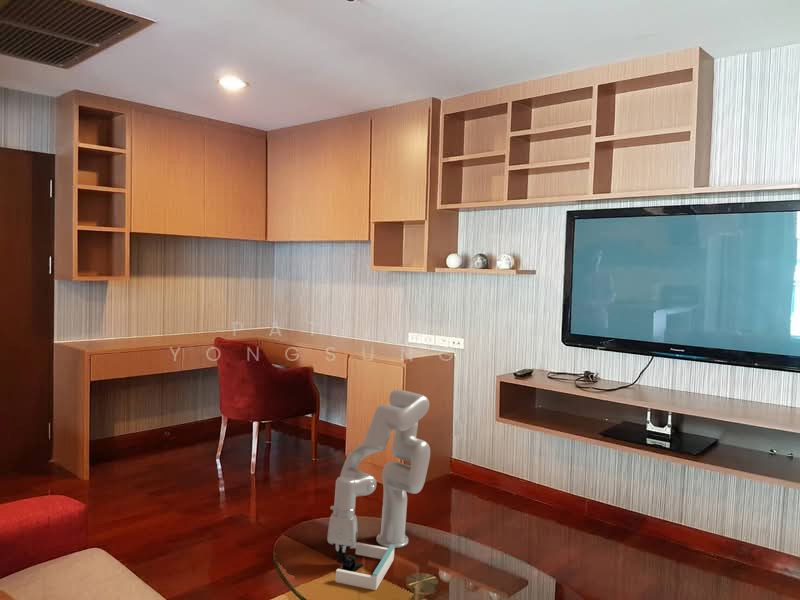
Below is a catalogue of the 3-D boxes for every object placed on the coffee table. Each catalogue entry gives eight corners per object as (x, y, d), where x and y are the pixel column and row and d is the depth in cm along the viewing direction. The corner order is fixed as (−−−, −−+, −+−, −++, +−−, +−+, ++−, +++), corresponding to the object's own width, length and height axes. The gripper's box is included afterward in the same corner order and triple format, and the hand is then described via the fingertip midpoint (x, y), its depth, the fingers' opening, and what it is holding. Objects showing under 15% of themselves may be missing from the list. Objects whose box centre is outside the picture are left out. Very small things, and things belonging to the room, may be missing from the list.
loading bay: (356, 552, 234) (357, 538, 233) (393, 559, 230) (394, 545, 230) (335, 581, 212) (336, 566, 211) (376, 590, 208) (377, 574, 208)
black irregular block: (348, 580, 214) (349, 567, 214) (330, 574, 217) (331, 562, 217) (365, 565, 225) (366, 552, 225) (348, 560, 229) (348, 547, 228)
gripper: (320, 511, 220) (317, 561, 221) (360, 519, 216) (357, 570, 218) (328, 504, 227) (325, 552, 229) (367, 511, 224) (364, 560, 225)
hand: (341, 561), depth 223 cm, fingers closed
